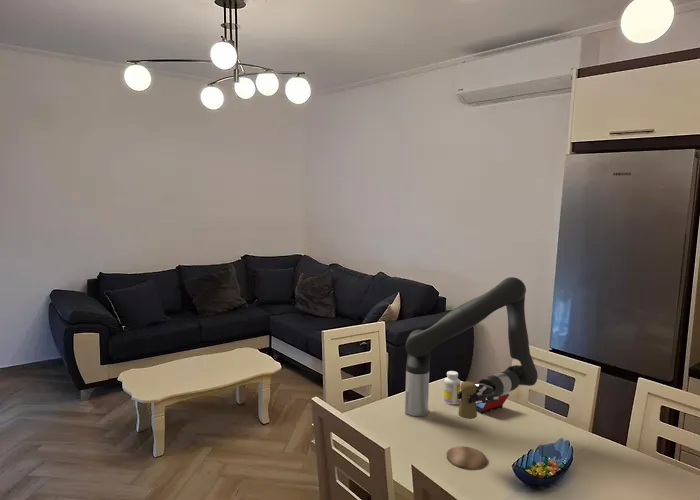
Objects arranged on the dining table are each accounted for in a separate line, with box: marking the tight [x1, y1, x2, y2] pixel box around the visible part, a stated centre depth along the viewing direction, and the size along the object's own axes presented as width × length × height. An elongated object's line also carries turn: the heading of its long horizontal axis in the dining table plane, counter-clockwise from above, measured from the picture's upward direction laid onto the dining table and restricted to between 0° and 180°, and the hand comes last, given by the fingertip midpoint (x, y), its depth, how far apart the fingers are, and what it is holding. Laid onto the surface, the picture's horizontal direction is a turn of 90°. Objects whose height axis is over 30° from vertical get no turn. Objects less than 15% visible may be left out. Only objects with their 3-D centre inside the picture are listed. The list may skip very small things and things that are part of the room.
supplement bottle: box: [443, 370, 461, 405], centre depth 210 cm, size 7×7×13 cm
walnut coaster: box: [446, 446, 487, 470], centre depth 165 cm, size 13×13×1 cm
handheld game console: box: [476, 393, 510, 415], centre depth 204 cm, size 12×11×7 cm
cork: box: [458, 381, 478, 420], centre depth 163 cm, size 6×6×11 cm
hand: (463, 398), depth 161 cm, fingers closed on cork, 3 cm apart
